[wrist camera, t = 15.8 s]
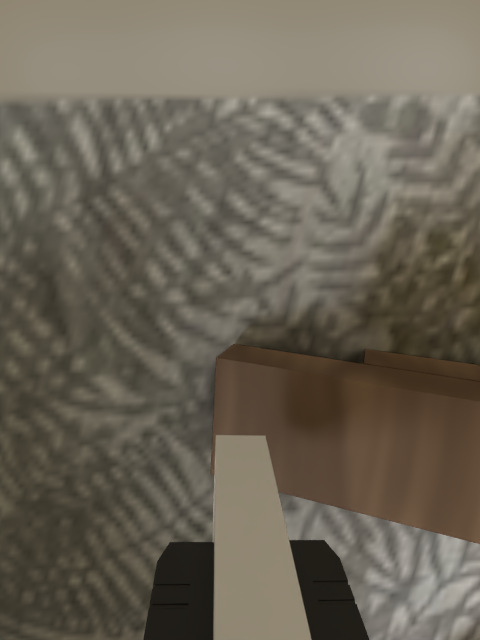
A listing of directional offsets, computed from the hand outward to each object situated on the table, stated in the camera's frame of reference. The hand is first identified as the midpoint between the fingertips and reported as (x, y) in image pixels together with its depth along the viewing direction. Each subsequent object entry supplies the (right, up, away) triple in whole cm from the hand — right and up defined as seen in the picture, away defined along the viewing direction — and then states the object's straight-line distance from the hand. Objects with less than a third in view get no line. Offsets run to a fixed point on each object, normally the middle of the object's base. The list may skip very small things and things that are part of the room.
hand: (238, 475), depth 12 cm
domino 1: (-1, +1, +4) cm, 5 cm away
